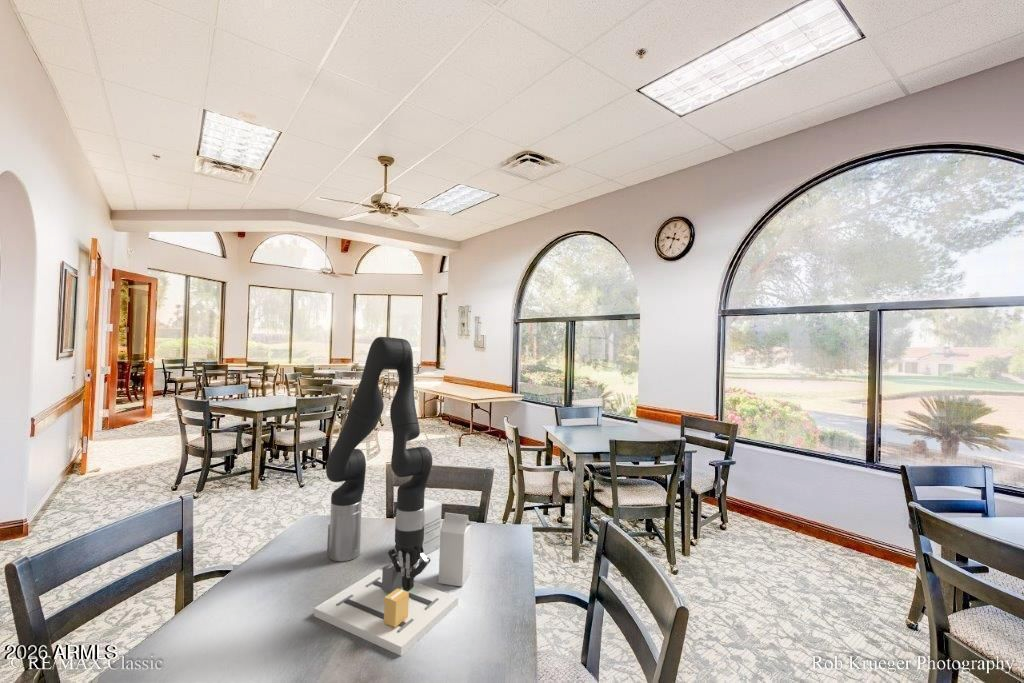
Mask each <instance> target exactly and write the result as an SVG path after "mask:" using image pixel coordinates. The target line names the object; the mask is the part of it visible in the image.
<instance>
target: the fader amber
mask: <svg viewBox="0 0 1024 683" xmlns="http://www.w3.org/2000/svg"><path fill="white" fill-rule="evenodd" d="M408 603H409V592H407V591H404V590H401V589H399V588H397V589H396V590H394V591H393V592H391V593H390V594H389V595H387V596H386V597H385V601H384V623H386V624H388V625H390V626H393V627H396V626H398V625H399V624H400V623H401V622H403V621H404V620H405V619H406V618H408Z"/></svg>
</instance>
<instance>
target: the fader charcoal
mask: <svg viewBox="0 0 1024 683" xmlns="http://www.w3.org/2000/svg"><path fill="white" fill-rule="evenodd" d="M397 562H398V561H397ZM398 565H399V562H398ZM381 570H382V590H383V591H386V592H389V593H391V592H393V591H394V590H396V589H397V588H401V587H402V575H401V573H400V572H397V571H396V569H395V567H394V565H393V563H392V561H391V562H389V563H388V564H386V565H384V566H383V567H382V569H381Z"/></svg>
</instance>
